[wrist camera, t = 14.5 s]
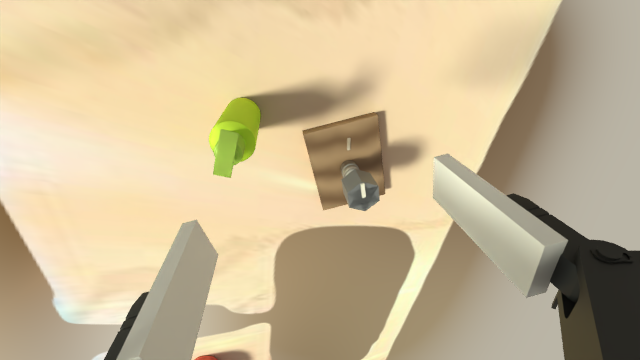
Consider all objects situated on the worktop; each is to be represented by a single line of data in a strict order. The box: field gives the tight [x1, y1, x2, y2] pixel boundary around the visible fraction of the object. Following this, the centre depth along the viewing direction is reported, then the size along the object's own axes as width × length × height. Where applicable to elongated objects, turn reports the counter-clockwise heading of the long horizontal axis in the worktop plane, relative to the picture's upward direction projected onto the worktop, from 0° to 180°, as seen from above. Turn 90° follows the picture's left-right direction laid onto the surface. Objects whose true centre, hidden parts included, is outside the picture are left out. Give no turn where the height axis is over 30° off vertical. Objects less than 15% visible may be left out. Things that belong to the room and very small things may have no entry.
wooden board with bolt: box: [303, 112, 385, 210], centre depth 49 cm, size 18×14×8 cm
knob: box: [341, 169, 380, 211], centre depth 44 cm, size 6×5×5 cm
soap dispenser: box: [209, 98, 261, 178], centre depth 36 cm, size 6×7×20 cm
